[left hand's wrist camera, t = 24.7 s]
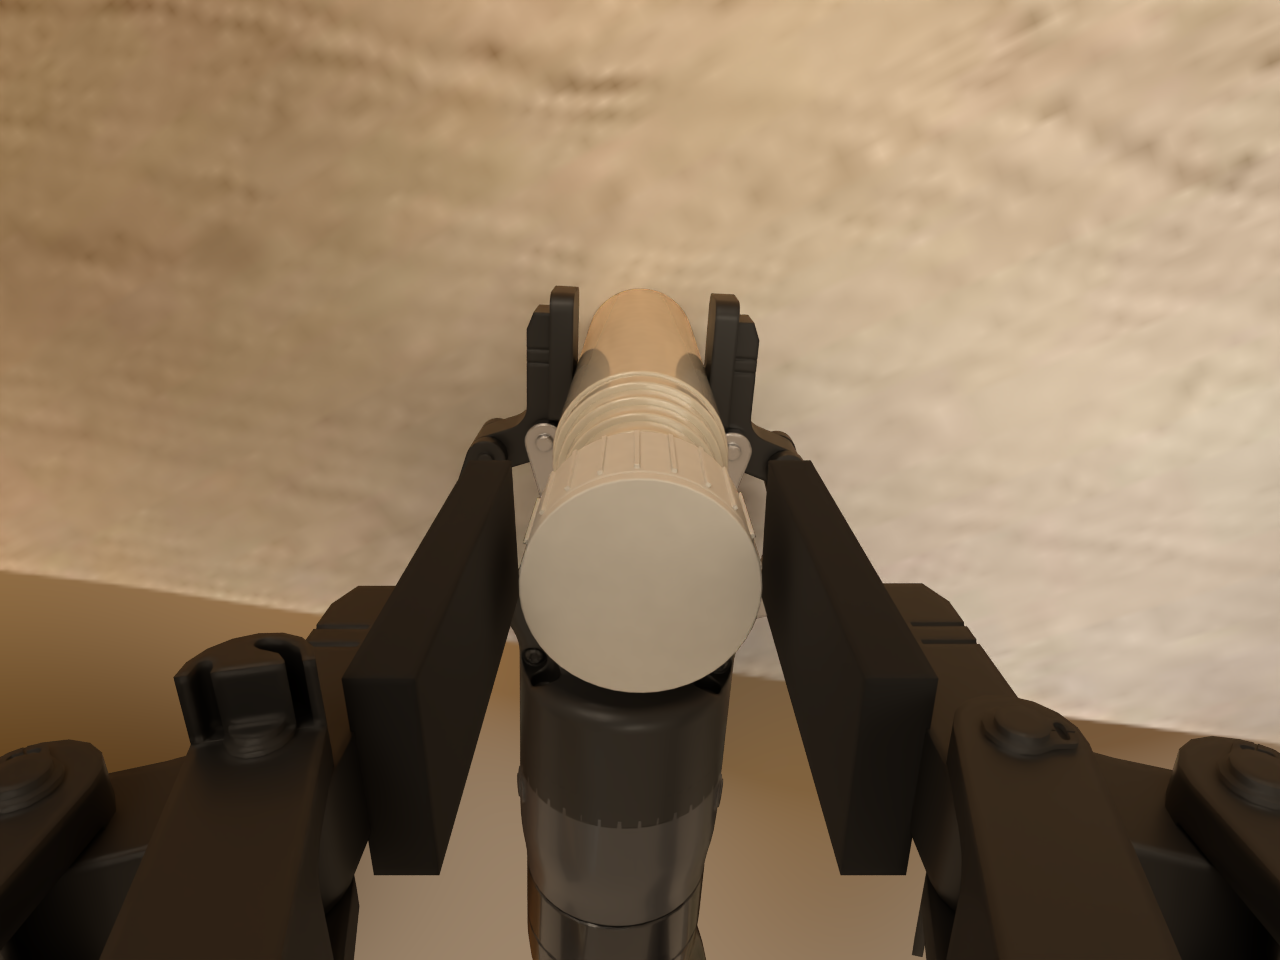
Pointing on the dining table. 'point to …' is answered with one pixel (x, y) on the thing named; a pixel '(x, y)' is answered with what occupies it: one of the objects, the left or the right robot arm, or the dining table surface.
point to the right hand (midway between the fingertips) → (646, 296)
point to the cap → (640, 564)
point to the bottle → (640, 379)
